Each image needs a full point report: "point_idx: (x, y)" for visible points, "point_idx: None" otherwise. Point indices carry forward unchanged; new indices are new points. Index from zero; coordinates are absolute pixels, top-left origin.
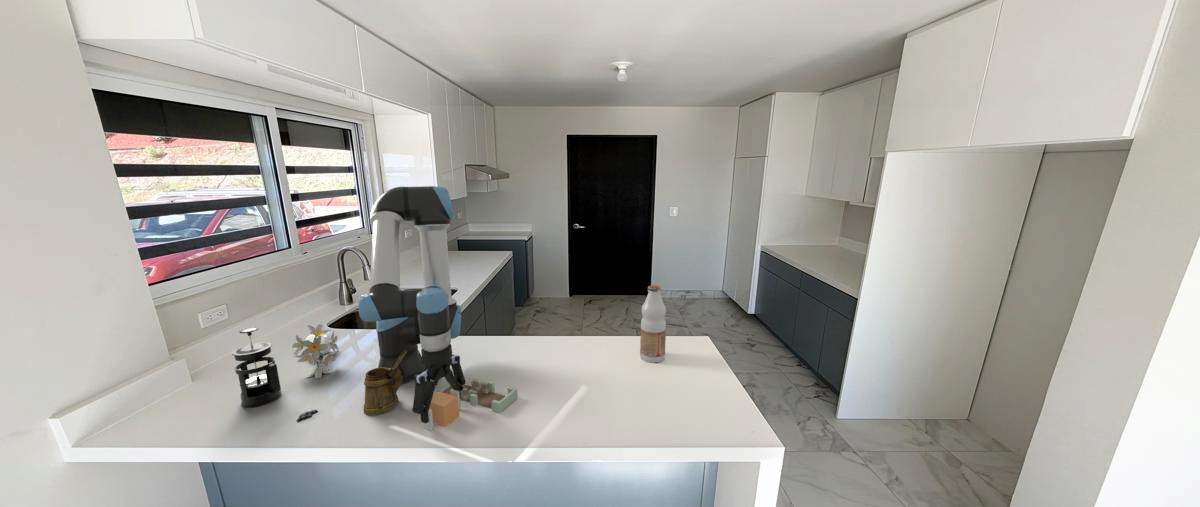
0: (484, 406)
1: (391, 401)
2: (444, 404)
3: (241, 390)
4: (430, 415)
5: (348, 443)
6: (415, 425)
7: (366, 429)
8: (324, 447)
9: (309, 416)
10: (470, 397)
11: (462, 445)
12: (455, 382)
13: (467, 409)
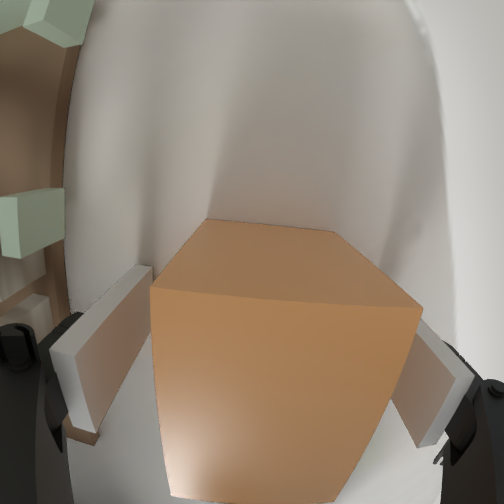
0: (53, 125)
1: None
2: (381, 332)
3: None
4: (448, 352)
5: (434, 474)
6: None
7: (373, 493)
8: (441, 489)
9: None
10: (32, 246)
11: (414, 47)
12: (12, 462)
13: (99, 238)
